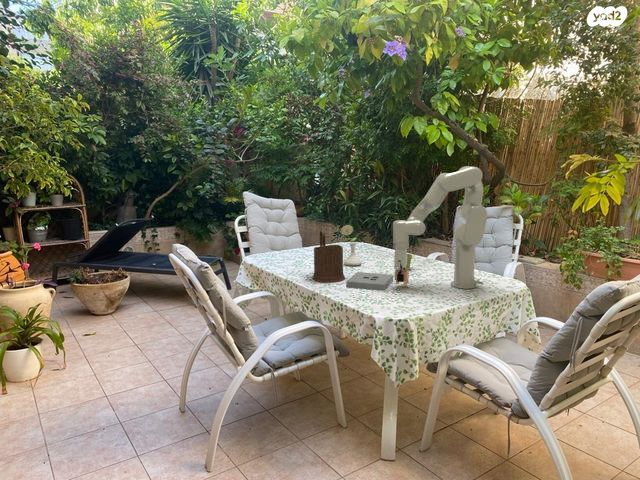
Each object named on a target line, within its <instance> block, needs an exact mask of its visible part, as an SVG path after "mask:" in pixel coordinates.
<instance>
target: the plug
mask: <svg viewBox="0 0 640 480" xmlns="http://www.w3.org/2000/svg"><path fill="white" fill-rule="evenodd" d="M400 270H401V271H402V269H400ZM409 272H410V269H403V274H404V282H403V286H405V287H407V286H408V284H409V283H410V281H409V280H410V279H409V278H410V276H409V275H410V273H409ZM394 281H395V284H396V285H399V284H400V282H397V268H395V270H394Z"/></svg>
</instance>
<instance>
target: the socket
mask: <svg viewBox="0 0 640 480" xmlns="http://www.w3.org/2000/svg"><path fill="white" fill-rule="evenodd" d="M393 281H394V274H387V273H375V272H365V271H364V272H363V271H361V272H360V271H356V273H354V274H353V275H352V276H351V277H350V278H348V279H347V280H346V281H345V285H346V288H353V289H366V290H374V291H375V290H377V291H386V290H387V288H388V287H389V286H390V285H391V284H392V282H393Z"/></svg>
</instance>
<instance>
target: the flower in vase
mask: <svg viewBox="0 0 640 480" xmlns="http://www.w3.org/2000/svg"><path fill="white" fill-rule="evenodd" d="M340 232H341V235H344V236H348V237H344V238H342V241H343V242H347V241H350V242H348V244H349V246H350V255H349V256H347V257H346V258H345V259H343V265H346V266H354V267H355V266H360V265H361V264H362V263H363V260H361V258H360V257H358V256H357V255H356V252H355V251H356V250H355V249H356V245H357V243H358V242H355V241H356V240H357V236H356V237H353V238H351V239H350V236H349V235H351V234H352V233H353V232H354V227H353V226H352V225H350V224H347V225H344V226H343V227H342V228H341V230H340Z"/></svg>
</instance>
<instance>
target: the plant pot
mask: <svg viewBox="0 0 640 480" xmlns="http://www.w3.org/2000/svg"><path fill="white" fill-rule="evenodd" d="M412 257H413V254H411V253H407V265H406V269H409V270H410V268H411V267H410V266H411V262H412Z"/></svg>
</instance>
